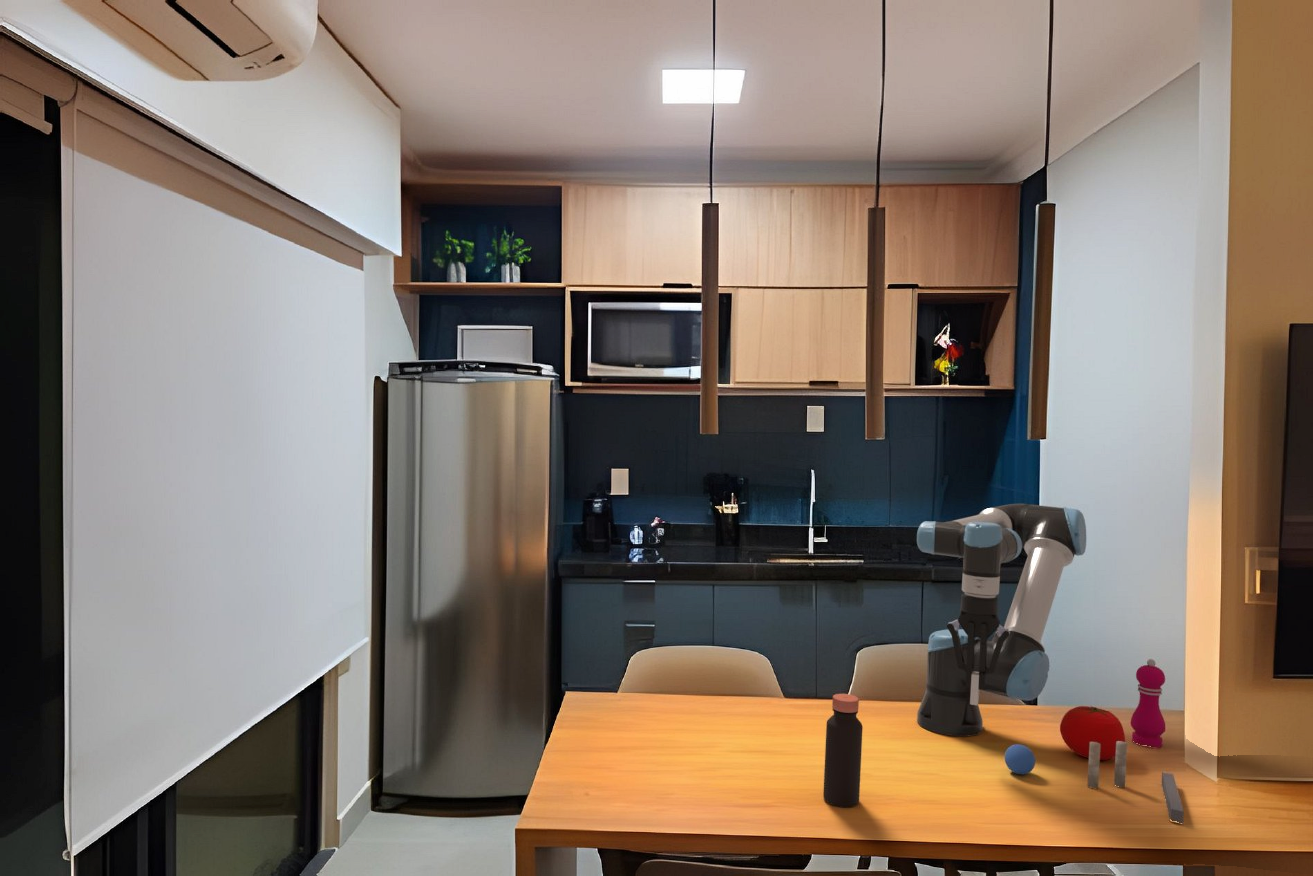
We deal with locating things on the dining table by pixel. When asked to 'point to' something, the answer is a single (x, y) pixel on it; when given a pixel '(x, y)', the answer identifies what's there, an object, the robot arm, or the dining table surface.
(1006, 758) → the ball
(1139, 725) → the pepper mill
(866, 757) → the dining table surface
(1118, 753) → the pin
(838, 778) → the bottle
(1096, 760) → the pin
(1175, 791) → the grey square rod
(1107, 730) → the tomato
